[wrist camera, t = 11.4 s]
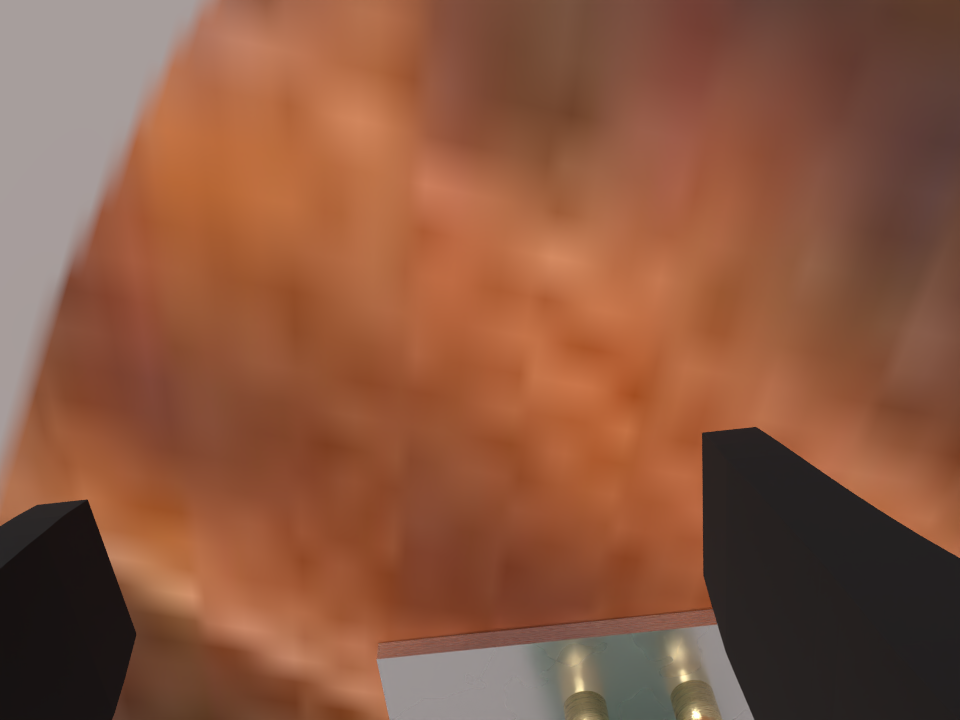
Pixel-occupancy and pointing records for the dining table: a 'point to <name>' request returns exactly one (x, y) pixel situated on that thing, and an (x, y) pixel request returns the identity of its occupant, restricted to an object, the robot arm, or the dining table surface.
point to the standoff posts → (688, 699)
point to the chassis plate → (560, 670)
